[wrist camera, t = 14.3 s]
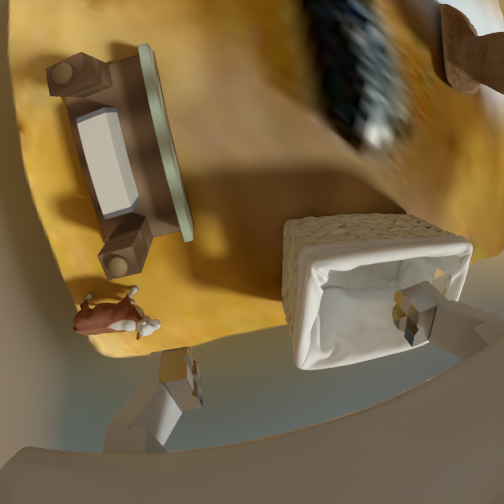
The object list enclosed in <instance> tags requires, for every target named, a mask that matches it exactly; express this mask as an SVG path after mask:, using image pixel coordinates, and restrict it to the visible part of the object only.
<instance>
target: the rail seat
mask: <svg viewBox="0 0 504 504" xmlns="http://www.w3.org/2000/svg"><path fill="white" fill-rule="evenodd" d="M138 50H139V55H136V56H132V57H129V58H126V59H123V60H120V61H118V62H115V63H112V64H107V63H104V62H102V61H100V60H98V59H96V58H94V57H91V56H89V55H87V54H85V53H82V52H80V53H78V54H76V55H73V56H71V57H69V58H67V59H65V60H63V61H61V62H59V63H57V64H55V65H53V66H51V67H49V68H47V69H46V75H47V81H48V87H49V93H50V96H60V97H65V100H66V105H67V110H68V114H69V119H70V123H71V128H72V132H73V136H74V140H75V144H76V148H77V152H78V156H79V159H80V163H81V167H82V170H83V173H84V177H85V180H86V183H87V187H88V190H89V193H90V196H91V199H92V202H93V205H94V208H95V211H96V214H97V217H98V220H99V223H100V225H101V228H102V231H103V234H104V236H105V239H106V243H105V245H104V246H103V248H102V250H101V251H100V253H99V254H98V258H99V261H100V263H101V265H102V268H103V270H104V272H105V275H106V277H107V279H108V280H112V279H116V278H120V277H125V276H129V275H133V274H137V273H141V272H142V269H143V266H144V263H145V260H146V257H147V254H148V251H149V248H150V246H151V243H152V240H153V238H154V237H158V236H162V235H166V234H170V233H174V232H179V231H182V235H183V238H184V241H185V242H189V241H193V235H194V222H193V218H192V214H191V211H190V207H189V203H188V199H187V195H186V191H185V188H184V184H183V180H182V176H181V172H180V167H179V163H178V159H177V155H176V151H175V147H174V142H173V138H172V134H171V129H170V125H169V120H168V116H167V111H166V107H165V102H164V97H163V93H162V88H161V83H160V78H159V73H158V68H157V63H156V57H155V52H154V51H153V50H152V48H151V47H150V46H149V45H148V44H147V43H145V44H142V45H138ZM104 107H106V108H116V110H117V114H118V119H119V123H120V127H121V132H122V136H123V140H124V144H125V148H126V152H127V155H128V159H129V163H130V167H131V170H132V174H133V178H134V181H135V185H136V188H137V191H138V195H139V198H140V201H139V203H138V204H137V206H136V207H135V209H134V210H133V212H130V213H126V214H123V215H119V216H116V217H113V218H109V219H106V220H105V219H104V216H103V213H102V210H101V207H100V204H99V201H98V198H97V194H96V191H95V188H94V185H93V182H92V178H91V175H90V171H89V168H88V164H87V161H86V157H85V153H84V150H83V146H82V142H81V138H80V134H79V130H78V125H77V121H76V118H79V117H81V116H84V115H86V114H89V113H91V112H94V111H96V110H99V109H102V108H104Z"/></svg>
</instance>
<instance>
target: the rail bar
mask: <svg viewBox="0 0 504 504" xmlns="http://www.w3.org/2000/svg"><path fill="white" fill-rule="evenodd" d="M76 121H77V125H78V130H79V134H80V138H81V142H82V146H83V150H84V153H85V157H86V161H87V164H88V168H89V171H90V175H91V178H92V182H93V185H94V188H95V191H96V194H97V198H98V201H99V204H100V207H101V210H102V213H103V216H104V219H105V220H106V219H109V218H113V217H116V216H119V215H123V214H126V213H130V212H133V210H134V209H135V207H136V206H137V204H138V203H139V201H140V198H139V195H138V191H137V188H136V185H135V181H134V178H133V174H132V170H131V167H130V163H129V159H128V155H127V152H126V148H125V144H124V140H123V136H122V132H121V127H120V123H119V119H118V114H117V110H116V108H106V107H104V108H102V109H99V110H96V111H94V112H91V113H89V114H86V115H84V116H81V117H79V118H76Z"/></svg>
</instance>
